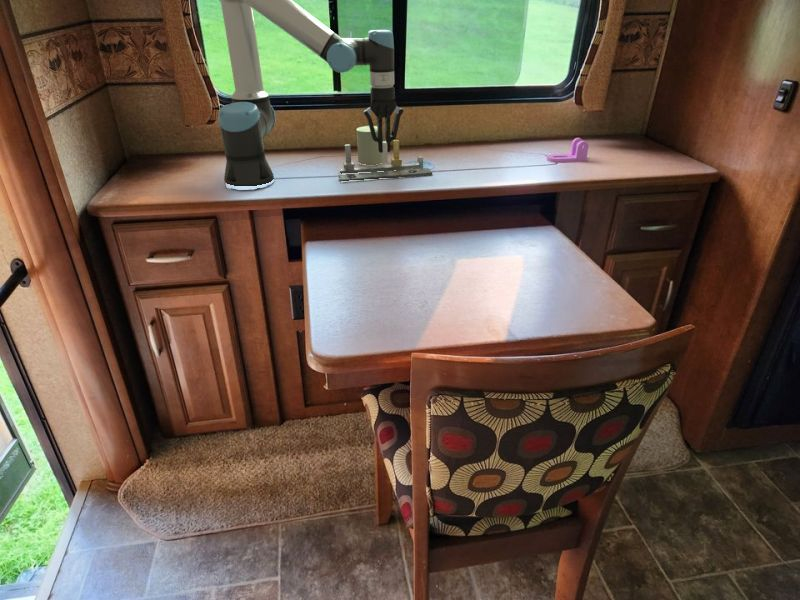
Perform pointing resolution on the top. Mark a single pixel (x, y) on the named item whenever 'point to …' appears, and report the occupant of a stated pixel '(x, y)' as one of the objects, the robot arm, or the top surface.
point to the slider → (396, 154)
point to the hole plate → (387, 174)
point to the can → (368, 147)
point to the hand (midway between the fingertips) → (384, 161)
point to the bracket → (572, 153)
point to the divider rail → (350, 166)
